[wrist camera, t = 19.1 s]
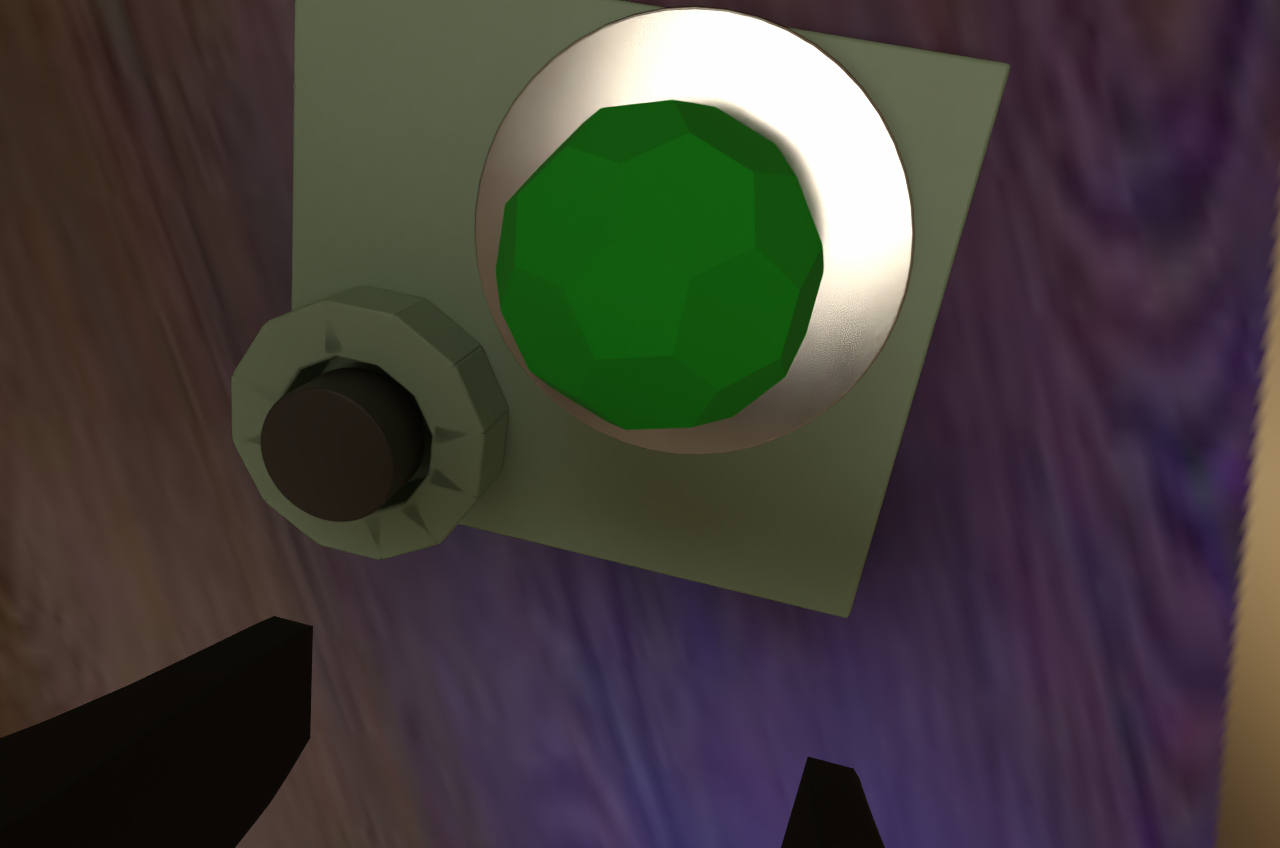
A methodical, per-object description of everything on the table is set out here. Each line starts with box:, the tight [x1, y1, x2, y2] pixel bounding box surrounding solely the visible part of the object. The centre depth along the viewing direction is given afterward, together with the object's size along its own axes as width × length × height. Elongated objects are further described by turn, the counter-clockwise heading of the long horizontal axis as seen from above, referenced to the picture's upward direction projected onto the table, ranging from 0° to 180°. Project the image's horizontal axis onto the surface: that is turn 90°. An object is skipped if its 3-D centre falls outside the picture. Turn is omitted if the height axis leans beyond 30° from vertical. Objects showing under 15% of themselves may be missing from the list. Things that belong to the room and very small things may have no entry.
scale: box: [231, 0, 1010, 618], centre depth 19 cm, size 14×12×4 cm
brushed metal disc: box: [475, 6, 915, 455], centre depth 16 cm, size 8×8×1 cm
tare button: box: [261, 368, 424, 522], centre depth 19 cm, size 3×3×2 cm
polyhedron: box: [495, 99, 824, 430], centre depth 14 cm, size 5×5×5 cm
